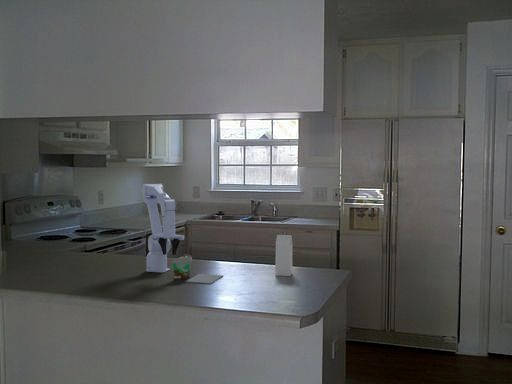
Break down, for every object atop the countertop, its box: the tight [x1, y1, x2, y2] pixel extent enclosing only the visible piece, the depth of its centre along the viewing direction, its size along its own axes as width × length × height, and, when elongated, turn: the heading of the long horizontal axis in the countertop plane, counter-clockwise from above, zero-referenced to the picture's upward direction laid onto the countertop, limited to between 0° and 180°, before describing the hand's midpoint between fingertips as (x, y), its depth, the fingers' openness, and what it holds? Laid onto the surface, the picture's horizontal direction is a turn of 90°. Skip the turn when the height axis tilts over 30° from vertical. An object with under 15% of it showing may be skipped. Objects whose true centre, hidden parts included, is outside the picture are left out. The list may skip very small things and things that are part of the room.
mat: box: [185, 273, 224, 285], centre depth 243 cm, size 12×16×1 cm
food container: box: [172, 253, 193, 281], centre depth 246 cm, size 12×6×10 cm, turn 161°
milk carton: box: [274, 234, 294, 277], centre depth 254 cm, size 7×7×19 cm
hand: (169, 254), depth 247 cm, fingers open, 4 cm apart
